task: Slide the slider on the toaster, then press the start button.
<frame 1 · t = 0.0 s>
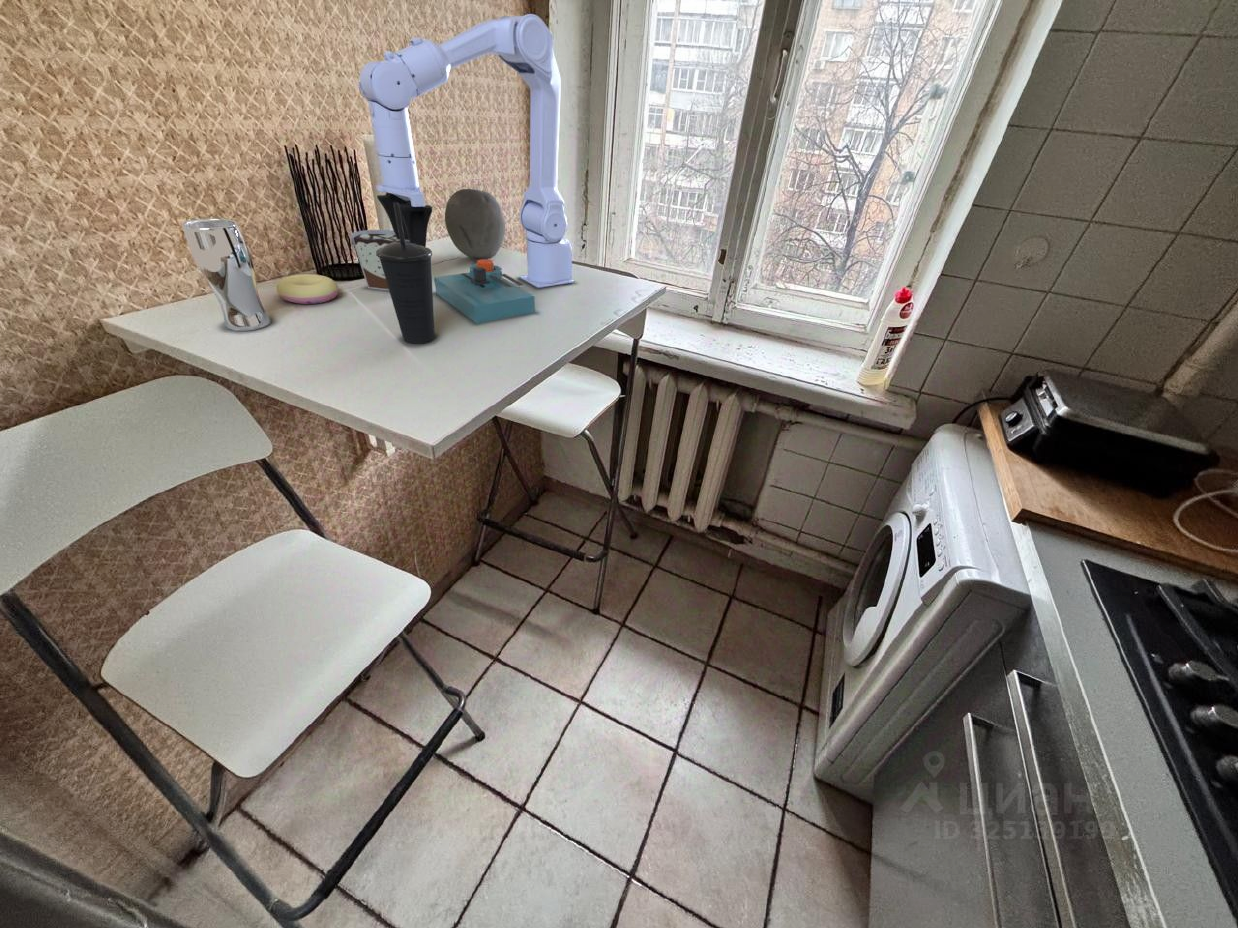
hand: (411, 243, 88), 10 cm above the table, tool pointing down, fingers open, 7 cm apart
food container: (398, 287, 99), on the table
slider: (479, 275, 87), point 7 cm above the table, slide at 0.0 cm
dark grey rounded piece: (479, 259, 120), on the table
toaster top: (488, 279, 91), on the toaster, point 5 cm above the table
drinking cup: (419, 340, 80), on the table
donut: (310, 298, 90), on the table
toaster: (484, 302, 95), on the table
start button: (485, 266, 96), point 5 cm above the table, slide at 0.1 cm
beer glass: (249, 325, 79), on the table
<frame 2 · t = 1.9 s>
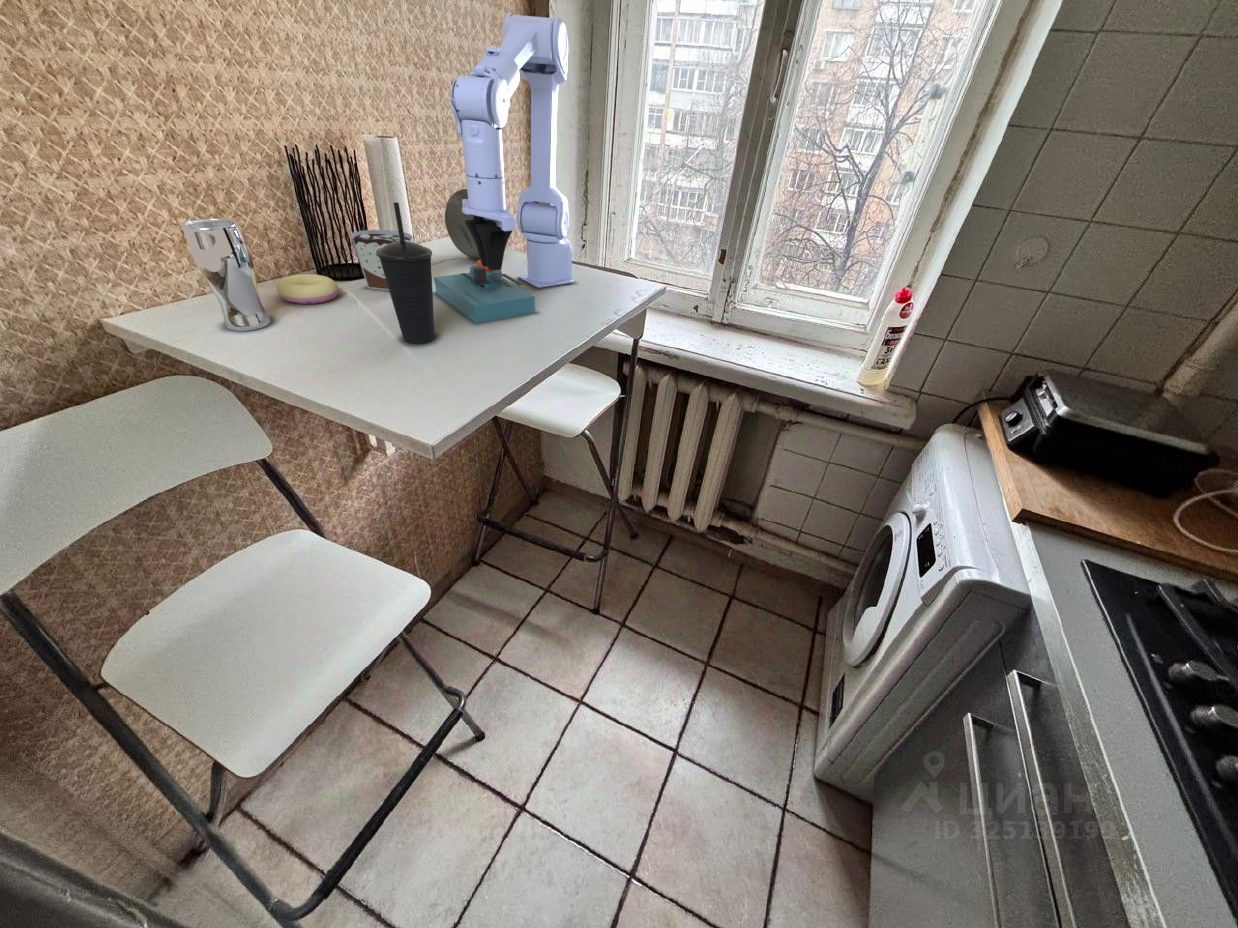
hand: (491, 267, 83), 9 cm above the table, tool pointing down, fingers closed
nothing on the table moved.
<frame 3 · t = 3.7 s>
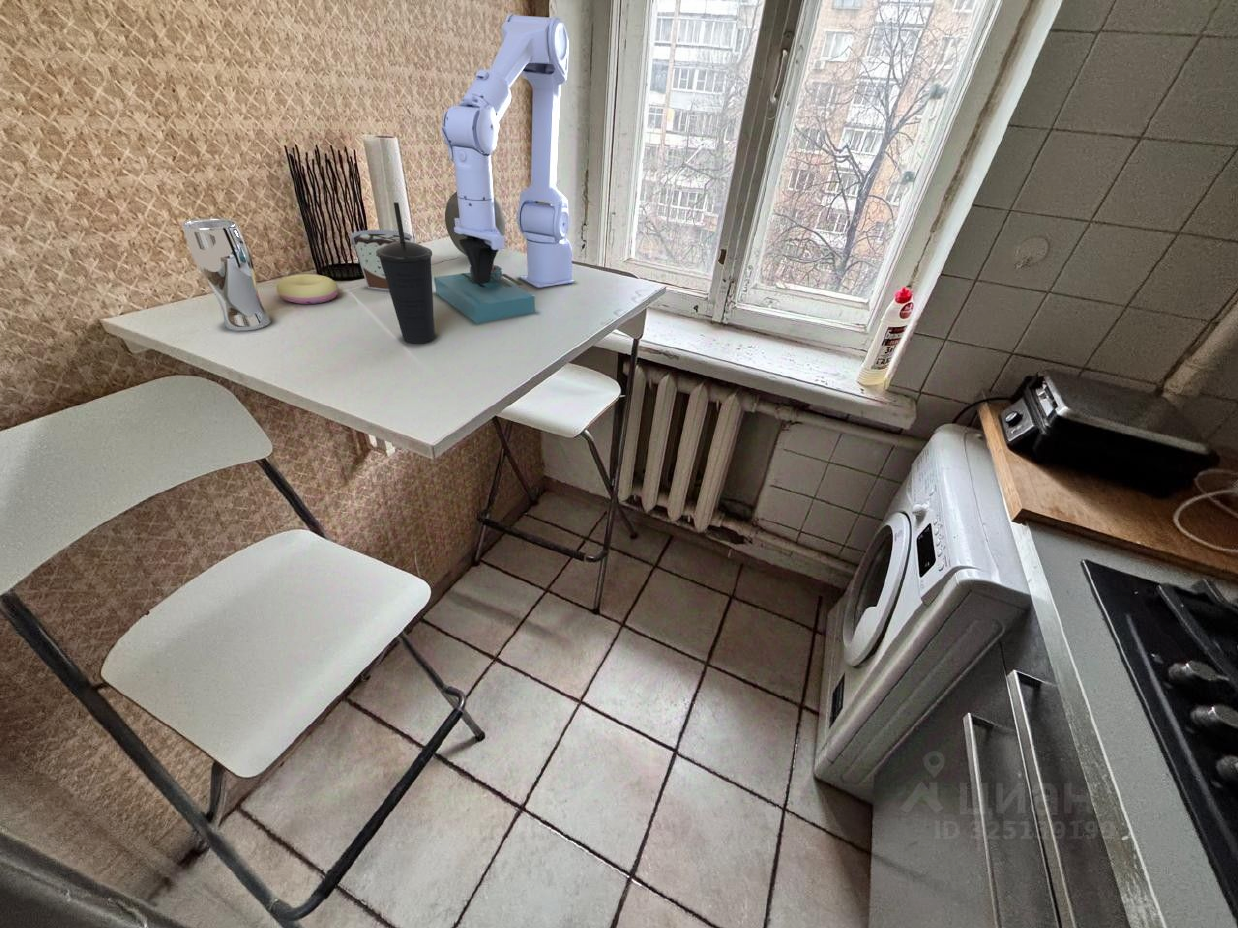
hand: (483, 282, 87), 6 cm above the table, tool pointing down, fingers closed
slider: (477, 274, 88), point 7 cm above the table, slide at 1.0 cm, touching gripper
everything else where it was.
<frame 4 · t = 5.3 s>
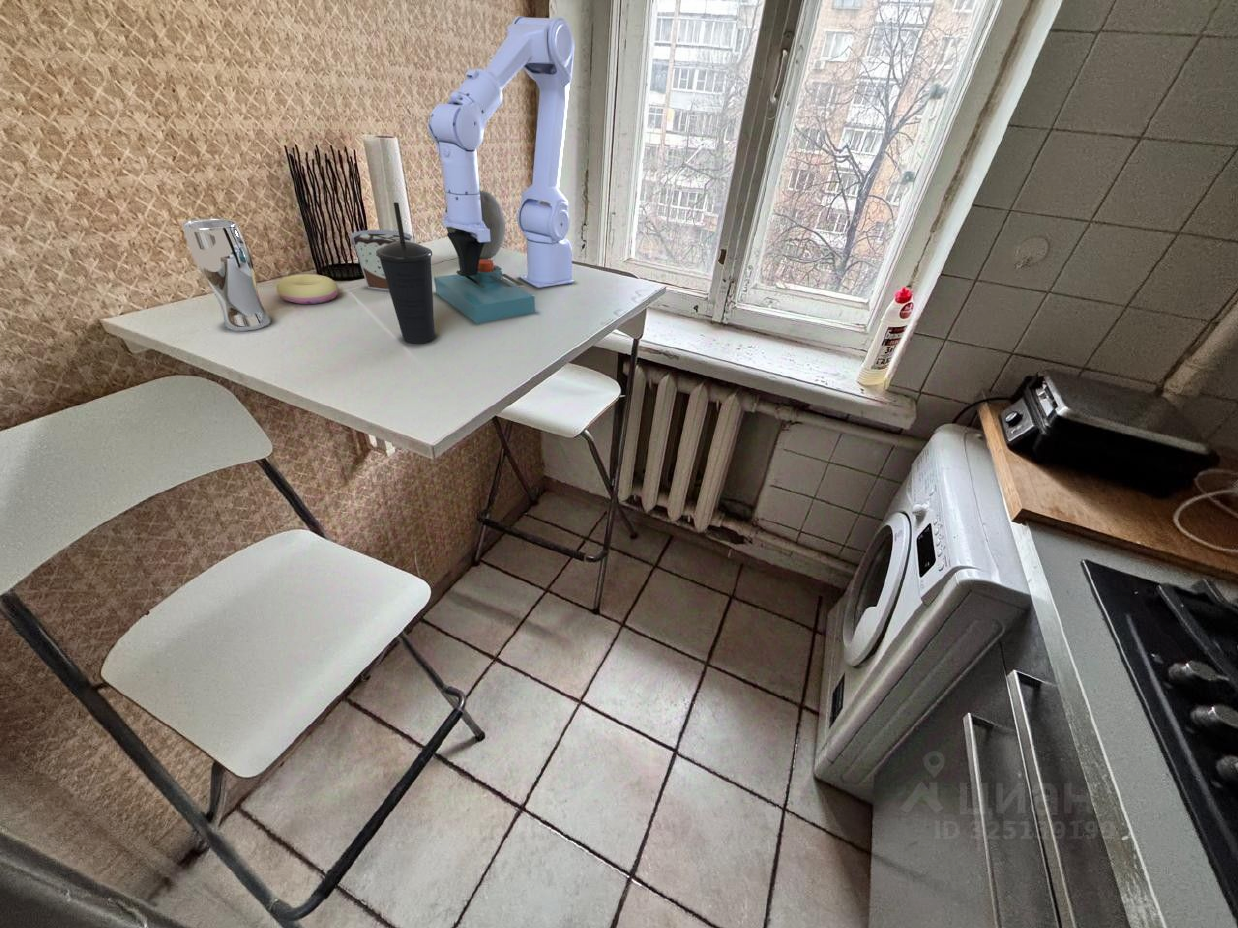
hand: (470, 274, 90), 6 cm above the table, tool pointing down, fingers closed
slider: (465, 266, 91), point 7 cm above the table, slide at 6.0 cm, touching gripper
everything else where it was.
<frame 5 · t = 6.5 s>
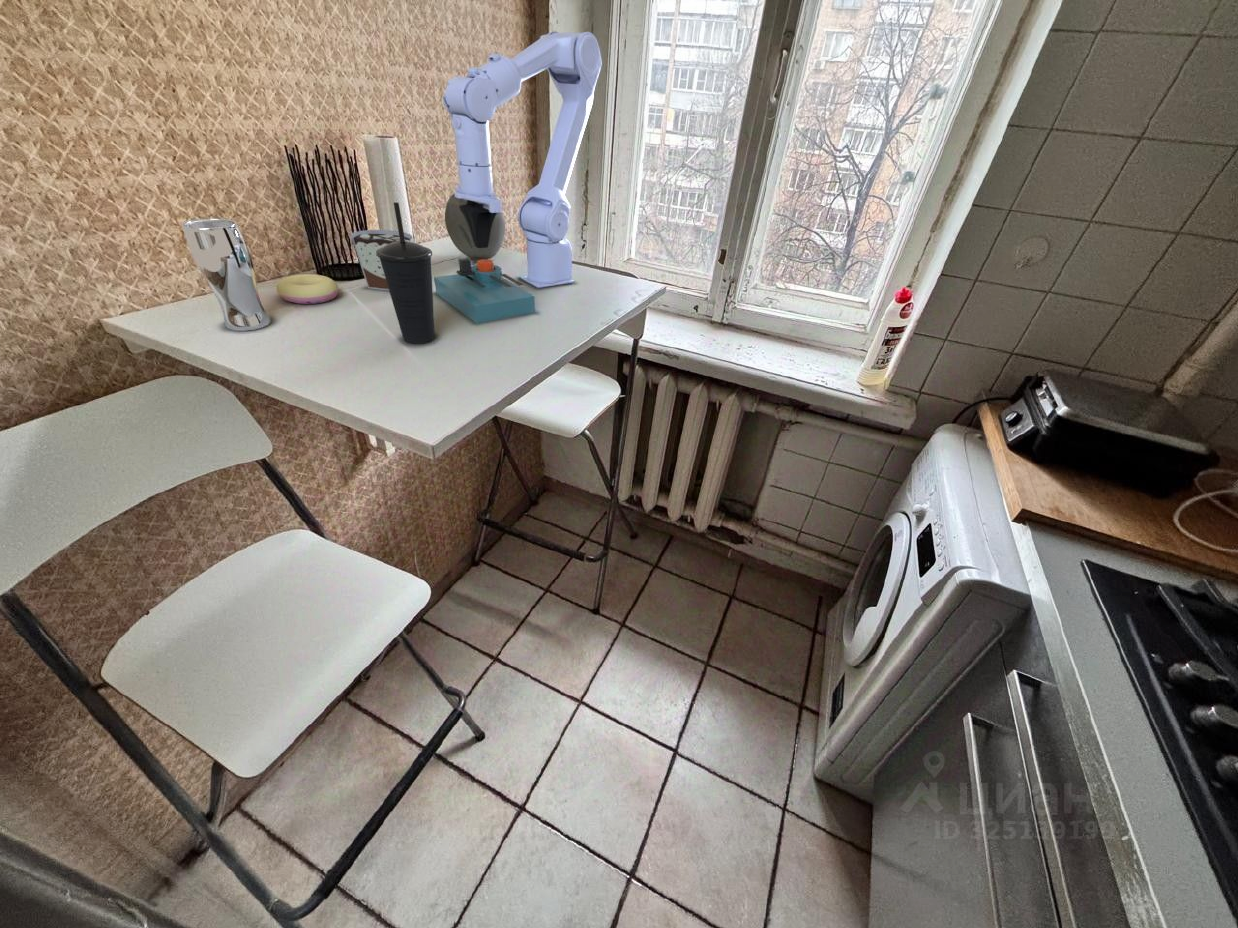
hand: (481, 247, 93), 9 cm above the table, tool pointing down, fingers closed
slider: (465, 266, 91), point 7 cm above the table, slide at 6.0 cm
everything else where it was.
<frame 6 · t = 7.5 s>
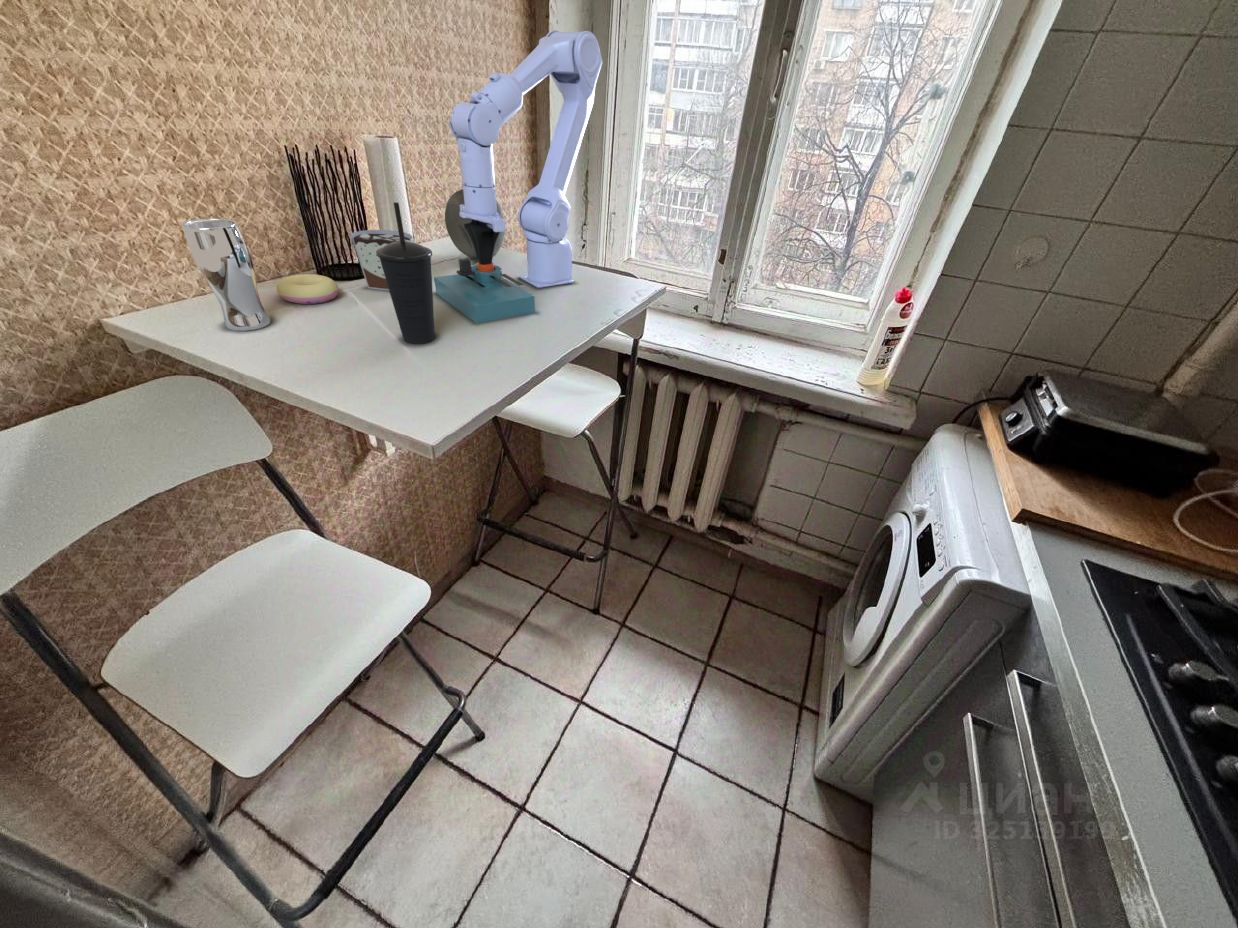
hand: (485, 263, 96), 6 cm above the table, tool pointing down, fingers closed, pressing on start button
start button: (485, 268, 97), point 5 cm above the table, slide at -0.2 cm, touching gripper
everything else where it was.
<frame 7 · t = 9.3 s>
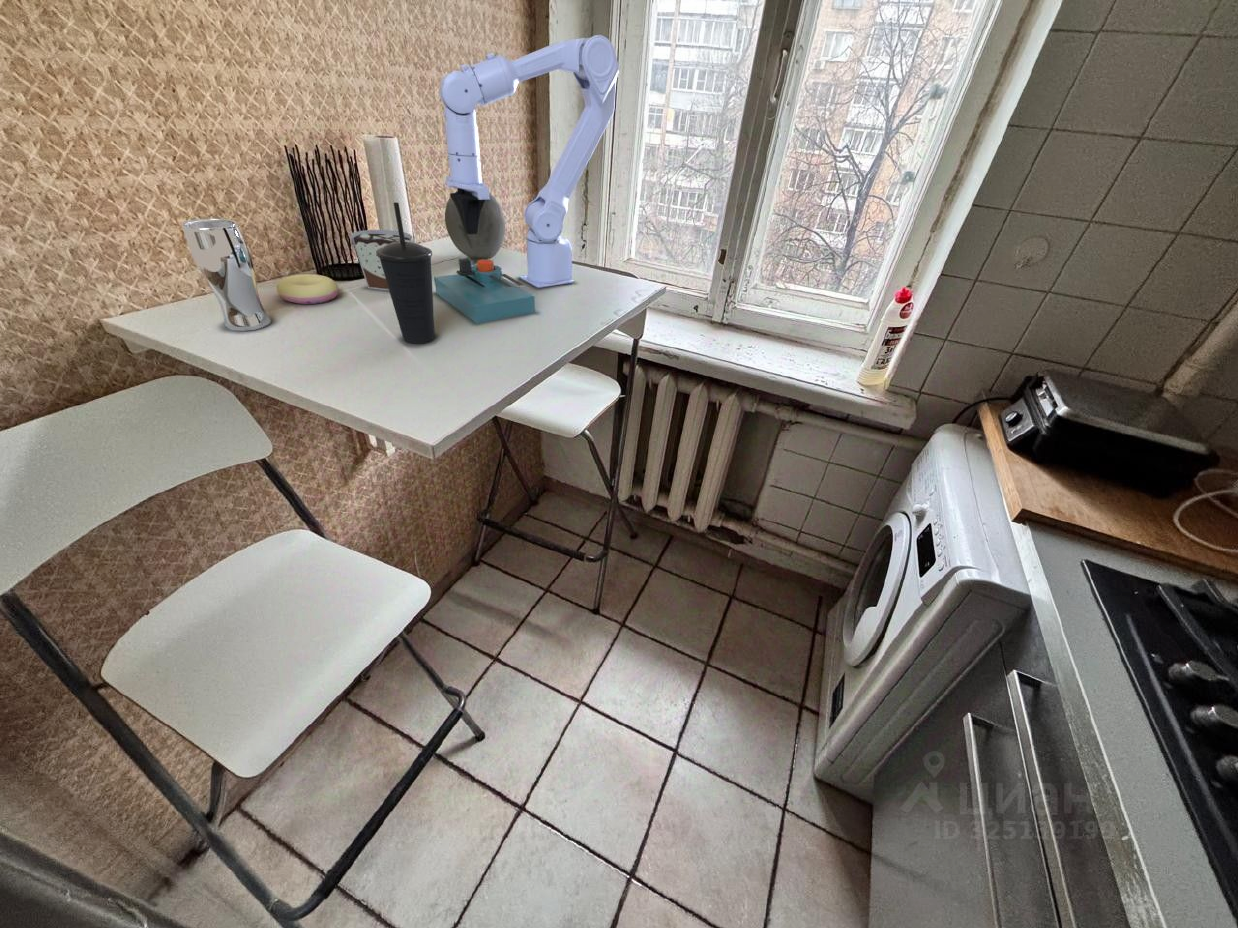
hand: (471, 233, 99), 10 cm above the table, tool pointing down, fingers closed
start button: (485, 266, 96), point 5 cm above the table, slide at 0.1 cm
everything else where it was.
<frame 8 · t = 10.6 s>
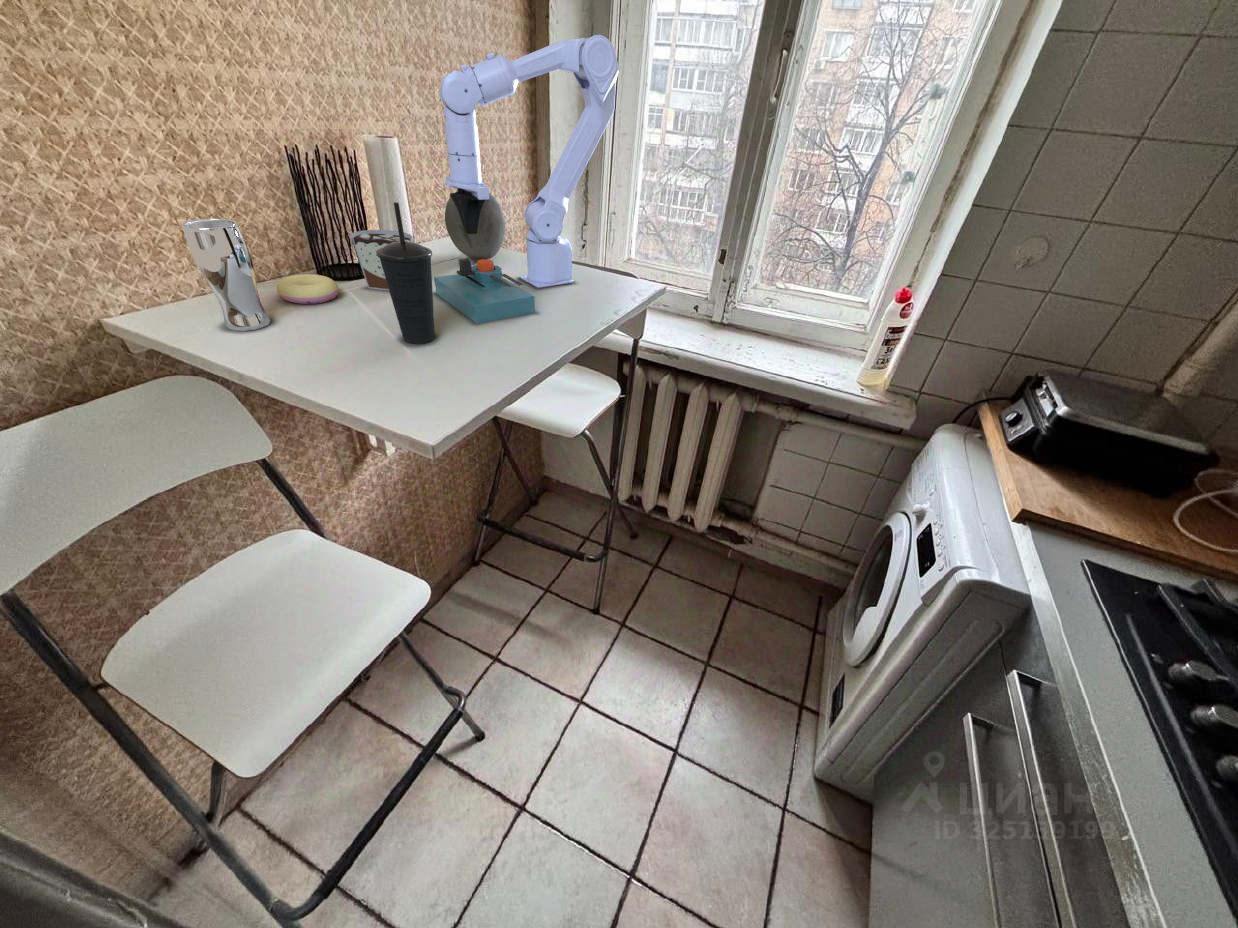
hand: (471, 233, 99), 10 cm above the table, tool pointing down, fingers closed
nothing on the table moved.
at the end: slider slide at 6.0 cm; start button pushed in 0.9 cm at the most during the clip, back to where it started at the end; start button slide at 0.1 cm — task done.
